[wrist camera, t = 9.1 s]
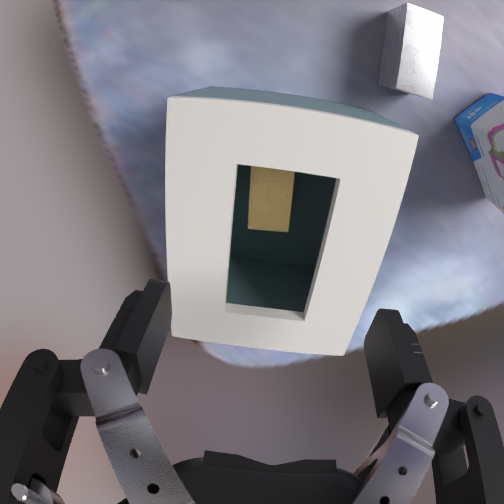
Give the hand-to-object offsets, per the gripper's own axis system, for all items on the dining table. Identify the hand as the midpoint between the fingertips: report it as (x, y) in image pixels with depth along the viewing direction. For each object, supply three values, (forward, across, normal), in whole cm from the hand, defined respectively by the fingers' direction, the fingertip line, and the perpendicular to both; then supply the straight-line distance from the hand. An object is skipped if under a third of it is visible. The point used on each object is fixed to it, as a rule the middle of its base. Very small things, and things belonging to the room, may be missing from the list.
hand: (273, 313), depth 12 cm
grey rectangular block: (+15, -8, -12) cm, 20 cm away
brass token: (+14, 0, -1) cm, 14 cm away
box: (+14, 0, 0) cm, 14 cm away
